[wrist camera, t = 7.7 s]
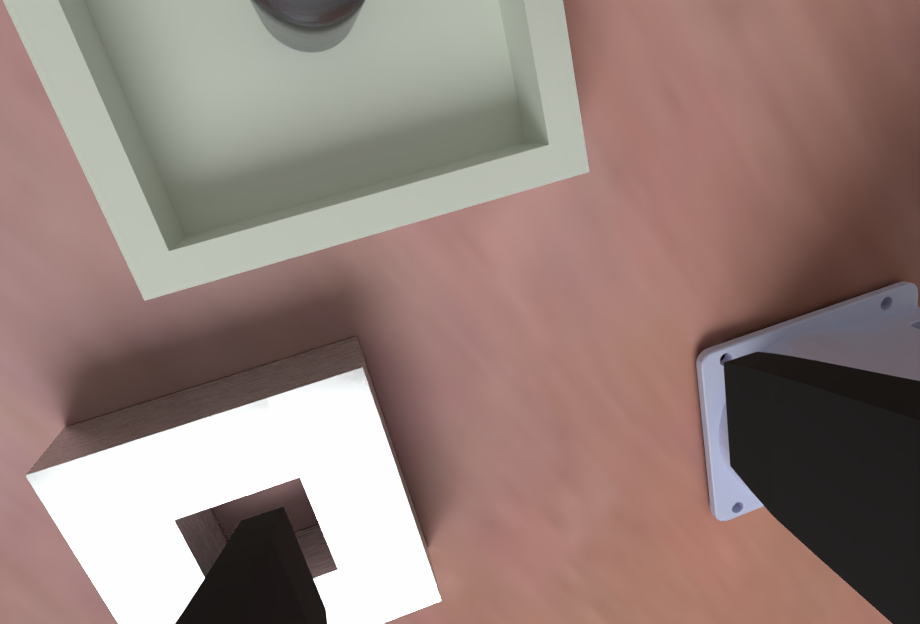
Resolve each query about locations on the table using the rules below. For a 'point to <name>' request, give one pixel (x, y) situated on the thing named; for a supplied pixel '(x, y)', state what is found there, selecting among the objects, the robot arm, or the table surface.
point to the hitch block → (241, 488)
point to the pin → (308, 21)
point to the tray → (299, 122)
